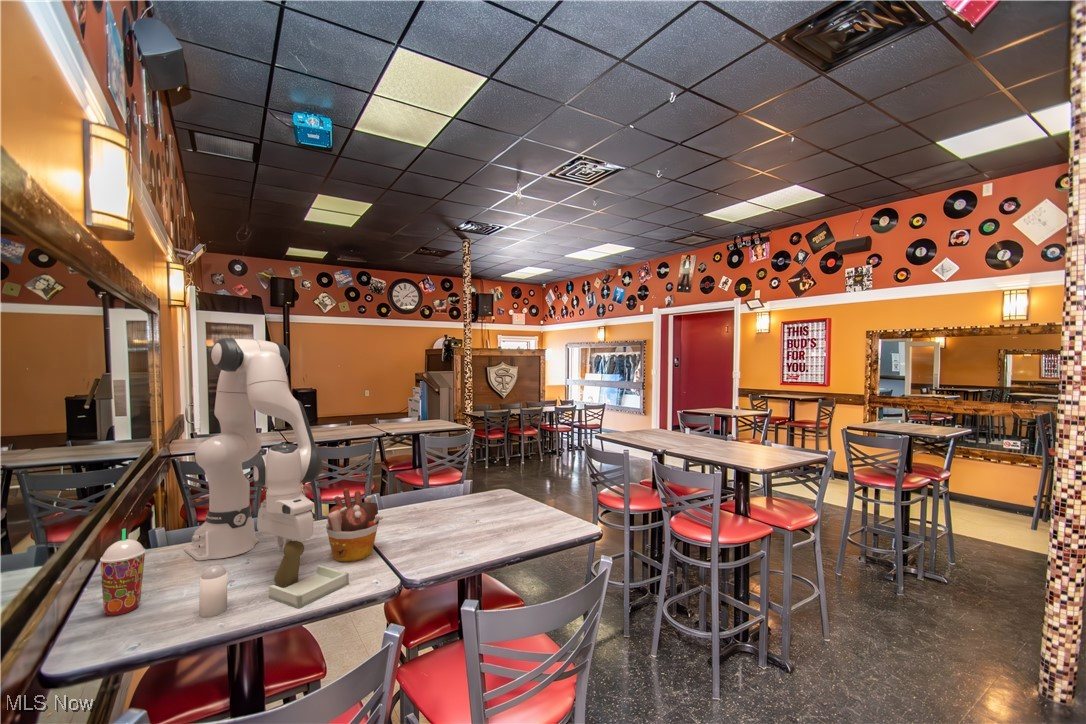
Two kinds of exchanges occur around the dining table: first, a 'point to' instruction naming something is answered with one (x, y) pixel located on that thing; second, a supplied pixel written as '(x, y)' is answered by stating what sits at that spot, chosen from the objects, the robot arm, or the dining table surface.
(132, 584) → the smoothie
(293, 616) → the dining table surface
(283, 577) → the brown chess pawn
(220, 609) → the salt shaker
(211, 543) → the robot arm
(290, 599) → the tray
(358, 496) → the bucket of meat
